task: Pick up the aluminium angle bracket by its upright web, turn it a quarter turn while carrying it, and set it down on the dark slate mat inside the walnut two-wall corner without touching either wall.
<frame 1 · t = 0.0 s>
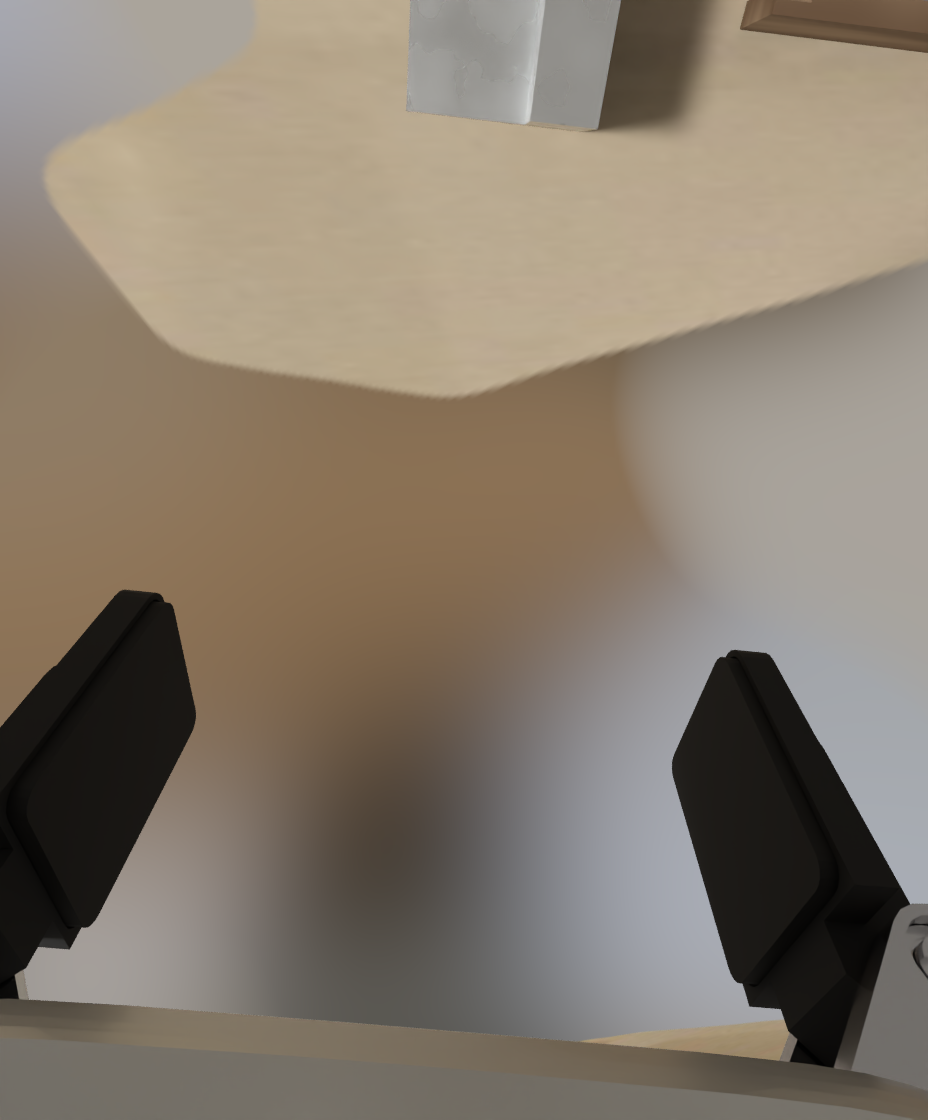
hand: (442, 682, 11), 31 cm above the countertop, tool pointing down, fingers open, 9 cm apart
aluminium bracket: (567, 27, 30), on the countertop
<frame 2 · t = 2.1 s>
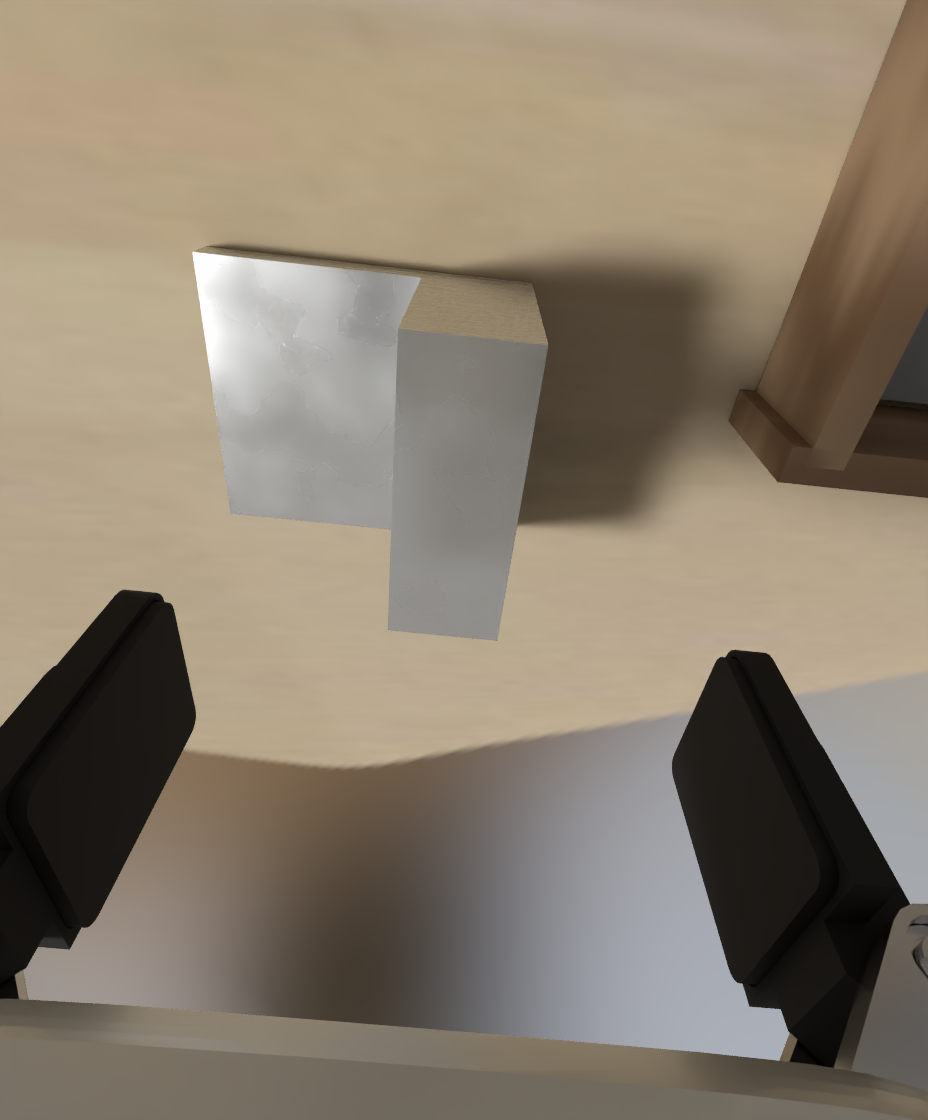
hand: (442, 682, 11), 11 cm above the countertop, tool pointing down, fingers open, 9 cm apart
aluminium bracket: (464, 413, 19), on the countertop
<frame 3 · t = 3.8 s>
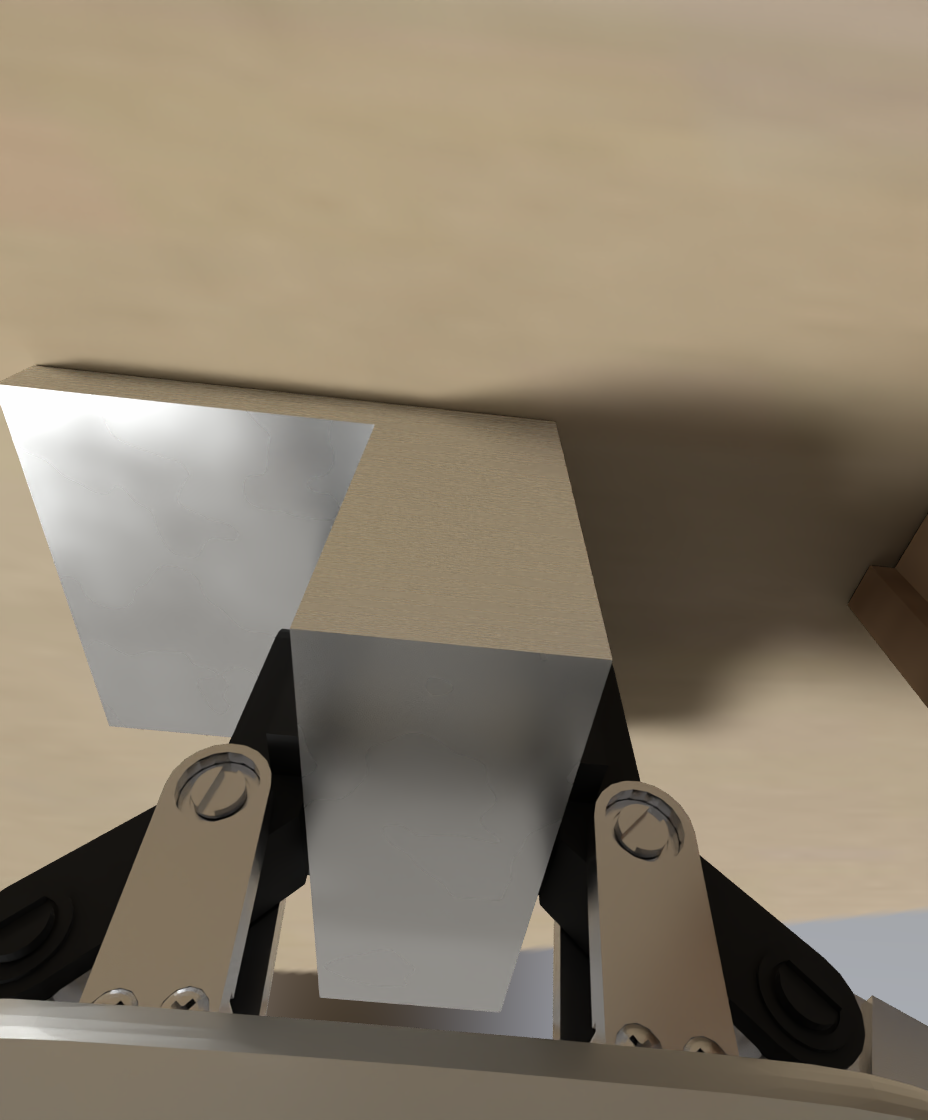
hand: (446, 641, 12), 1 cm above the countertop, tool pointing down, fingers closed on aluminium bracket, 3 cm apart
aluminium bracket: (450, 594, 13), on the countertop, touching gripper
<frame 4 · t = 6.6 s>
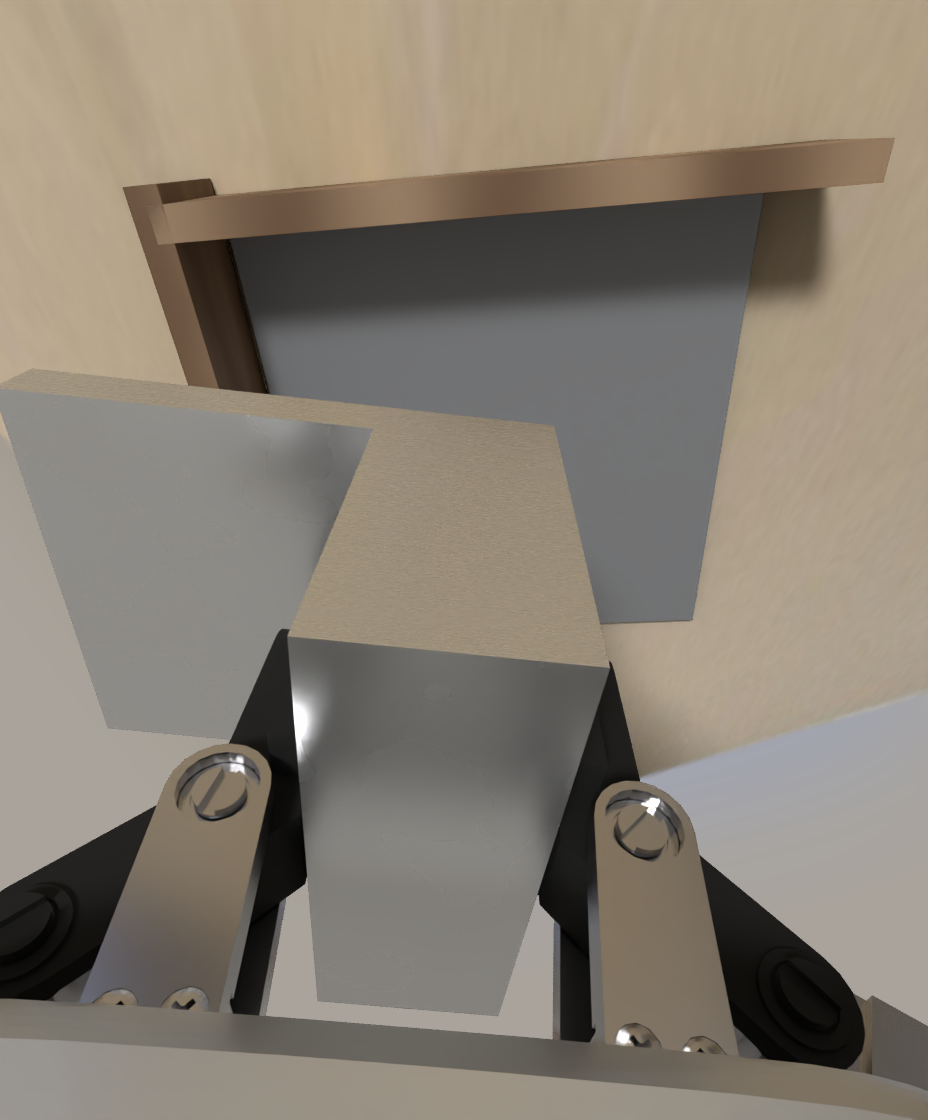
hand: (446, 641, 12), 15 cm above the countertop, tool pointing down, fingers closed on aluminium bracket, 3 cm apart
walnut corner walls: (500, 457, 26), resting in slate mat
aluminium bracket: (449, 597, 13), point 14 cm above the countertop, touching gripper
slate mat: (500, 457, 26), on the countertop
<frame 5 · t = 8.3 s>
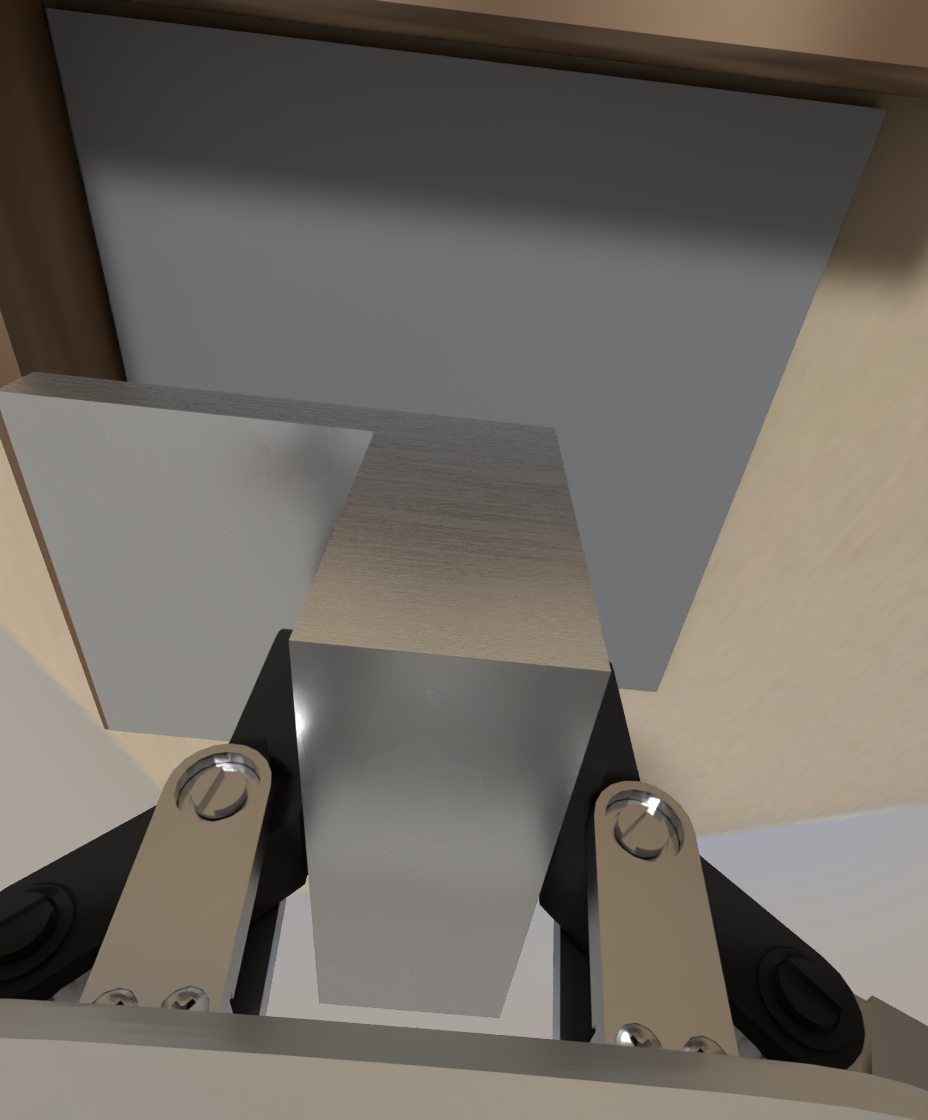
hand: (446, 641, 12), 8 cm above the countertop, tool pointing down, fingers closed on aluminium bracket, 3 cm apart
walnut corner walls: (441, 443, 18), resting in slate mat
aluminium bracket: (450, 599, 13), point 7 cm above the countertop, touching gripper
slate mat: (441, 443, 18), on the countertop
when the fingers open (3 cm above the countertop, at t = 9.5 s): aluminium bracket drops 1 cm, resting on slate mat.
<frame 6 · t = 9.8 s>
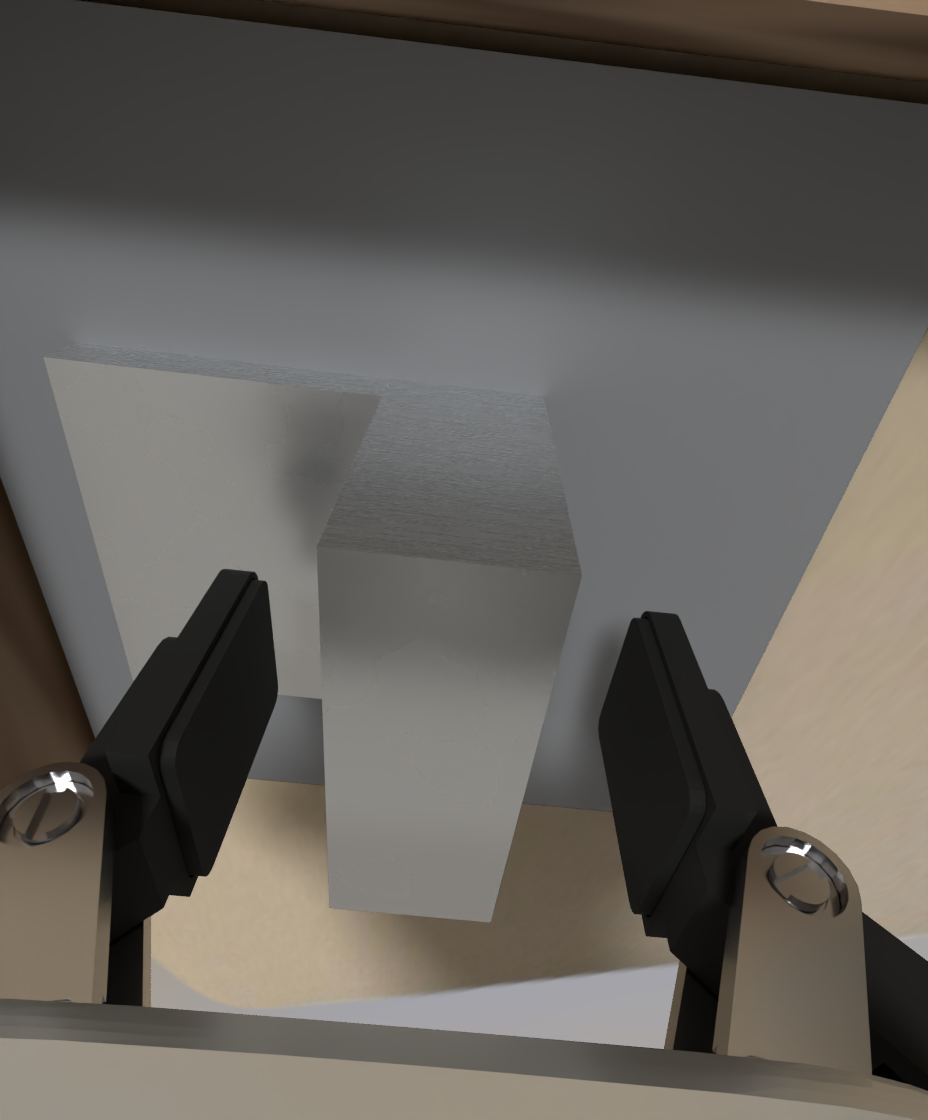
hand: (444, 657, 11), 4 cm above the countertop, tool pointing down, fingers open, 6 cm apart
walnut corner walls: (412, 543, 14), resting in slate mat
aluminium bracket: (448, 558, 14), resting on slate mat
slate mat: (412, 543, 14), on the countertop
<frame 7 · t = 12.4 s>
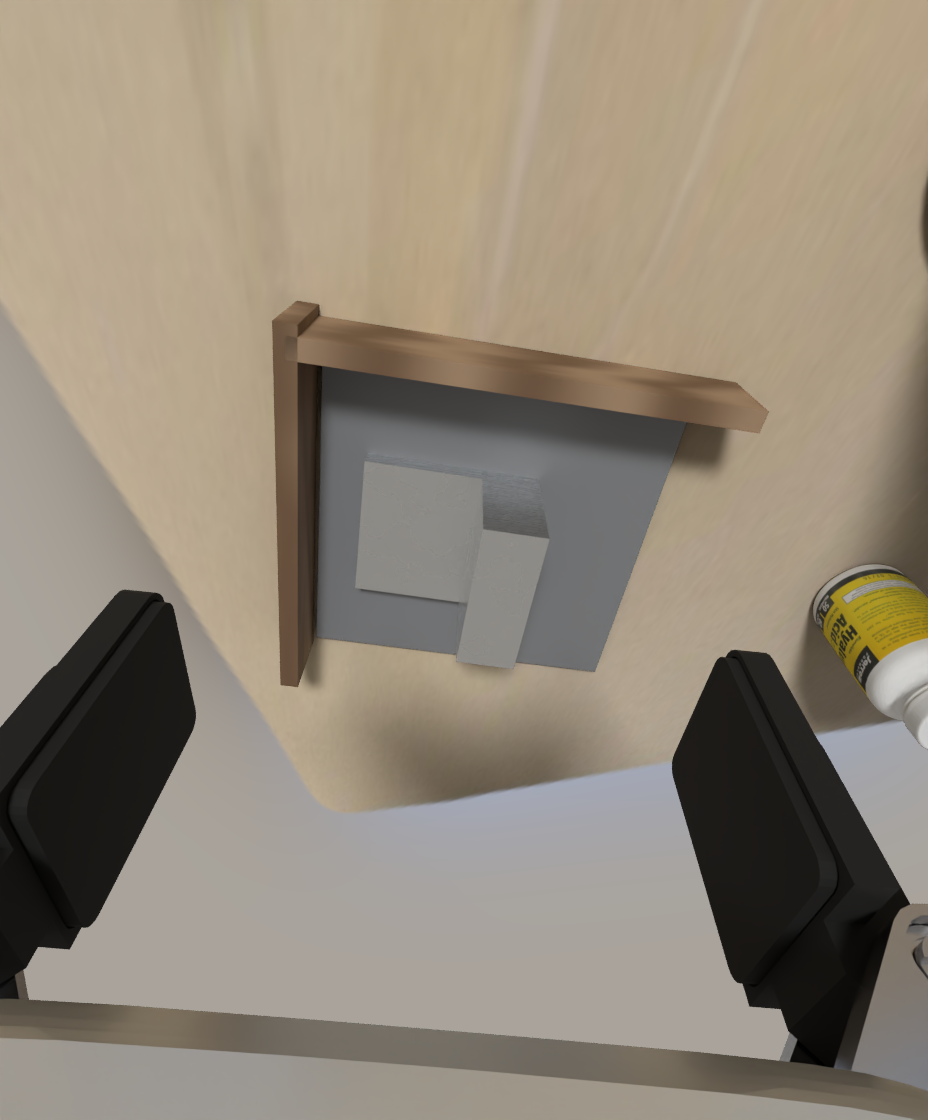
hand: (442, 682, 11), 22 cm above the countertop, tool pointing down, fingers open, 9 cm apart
walnut corner walls: (480, 532, 34), resting in slate mat
supplement bottle: (855, 596, 37), on the countertop
aluminium bracket: (496, 538, 34), resting on slate mat
slate mat: (480, 532, 34), on the countertop
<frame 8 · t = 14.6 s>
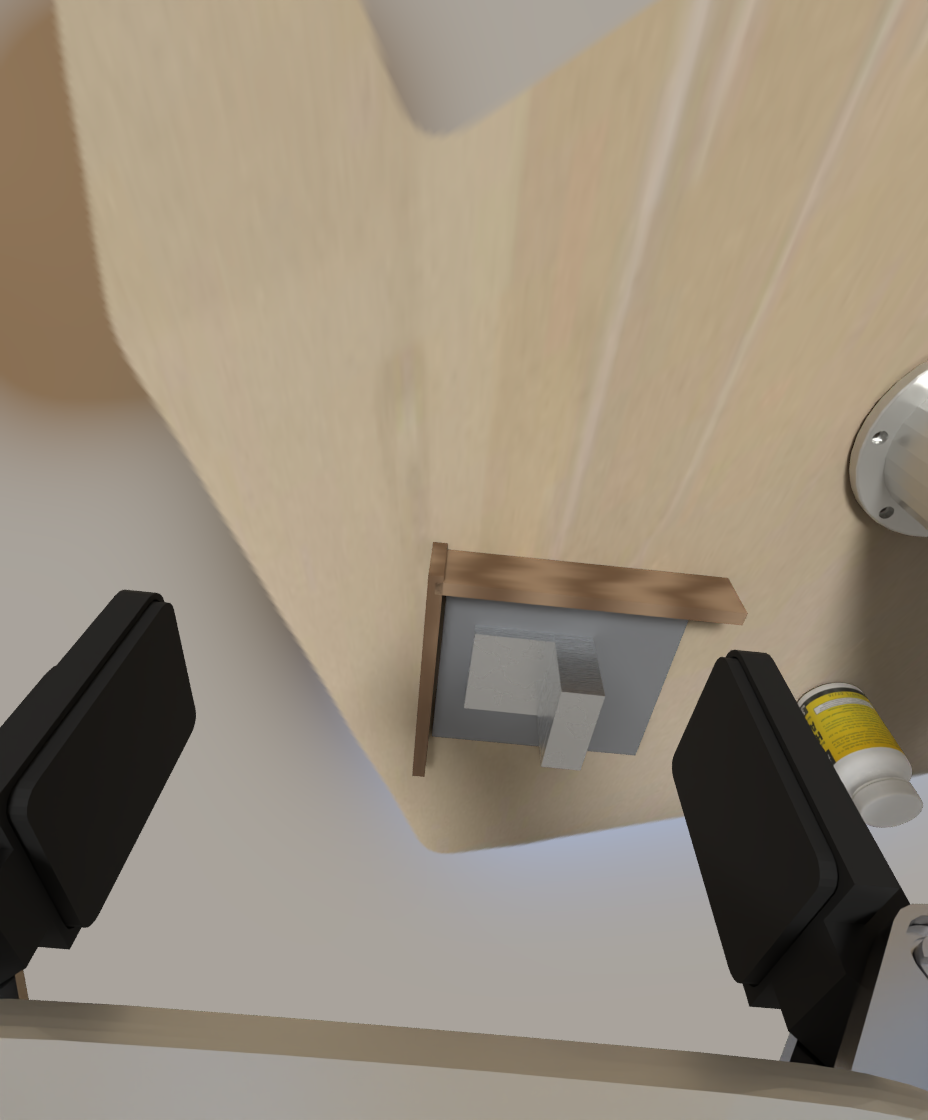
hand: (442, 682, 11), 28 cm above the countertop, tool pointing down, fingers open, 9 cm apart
walnut corner walls: (551, 668, 49), resting in slate mat
supplement bottle: (826, 702, 50), on the countertop
aluminium bracket: (563, 673, 49), resting on slate mat
slate mat: (551, 668, 49), on the countertop
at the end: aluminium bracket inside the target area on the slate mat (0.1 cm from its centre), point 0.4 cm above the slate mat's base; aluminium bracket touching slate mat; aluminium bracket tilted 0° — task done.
